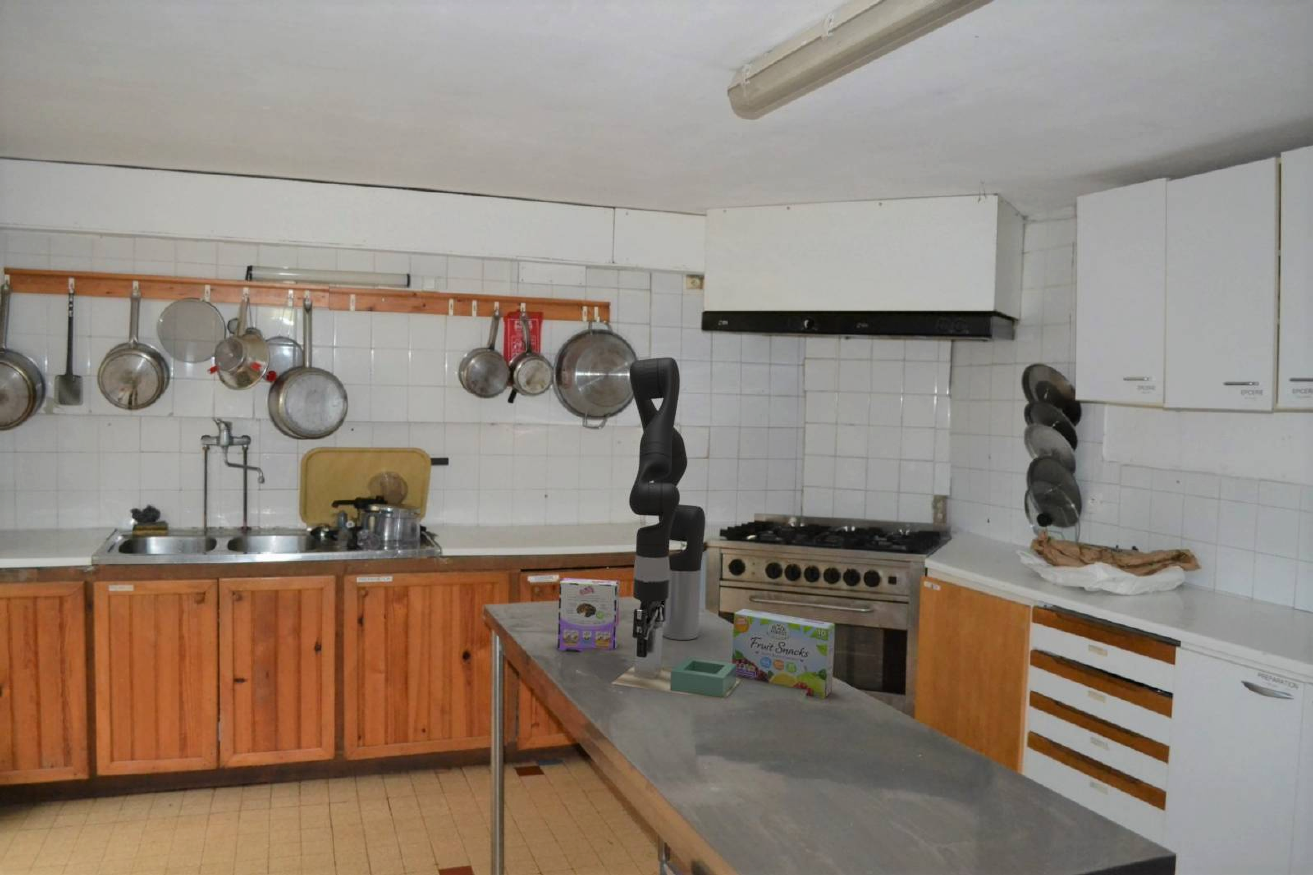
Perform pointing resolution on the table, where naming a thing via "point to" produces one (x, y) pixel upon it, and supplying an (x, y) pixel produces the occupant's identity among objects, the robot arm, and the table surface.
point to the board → (657, 682)
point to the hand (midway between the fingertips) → (648, 651)
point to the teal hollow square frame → (703, 677)
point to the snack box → (784, 650)
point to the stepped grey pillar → (651, 654)
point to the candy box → (588, 614)
